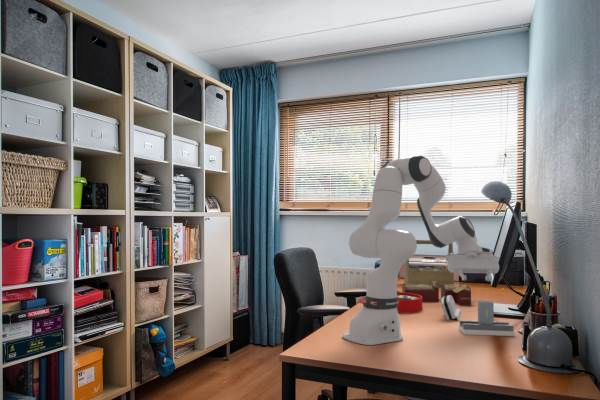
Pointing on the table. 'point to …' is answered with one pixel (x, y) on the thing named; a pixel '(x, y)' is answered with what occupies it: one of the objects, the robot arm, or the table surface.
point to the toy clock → (409, 302)
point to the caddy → (428, 272)
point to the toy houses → (432, 292)
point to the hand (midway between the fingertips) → (476, 279)
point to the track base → (486, 328)
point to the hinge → (450, 308)
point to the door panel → (485, 312)
